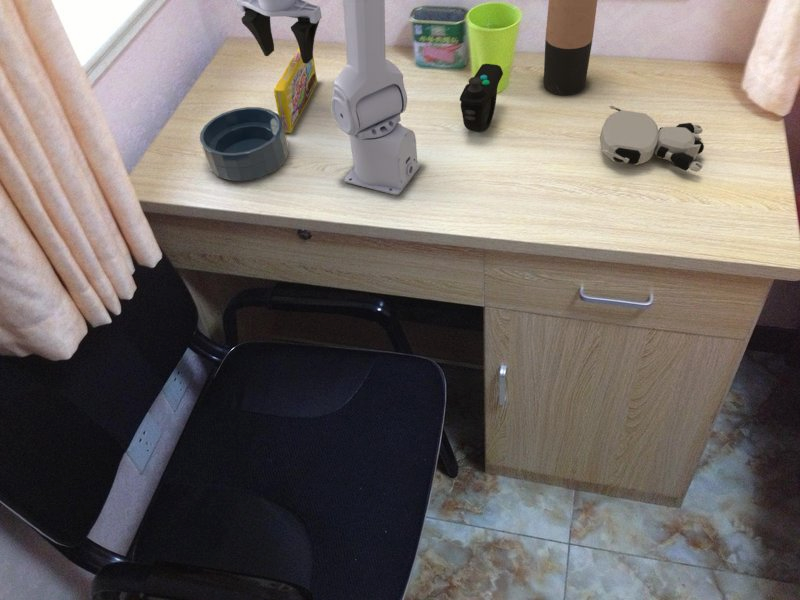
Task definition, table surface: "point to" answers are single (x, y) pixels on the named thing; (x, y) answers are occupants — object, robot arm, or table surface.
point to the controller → (480, 97)
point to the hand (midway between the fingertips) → (288, 56)
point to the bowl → (244, 143)
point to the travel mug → (568, 45)
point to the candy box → (294, 90)
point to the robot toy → (649, 140)
